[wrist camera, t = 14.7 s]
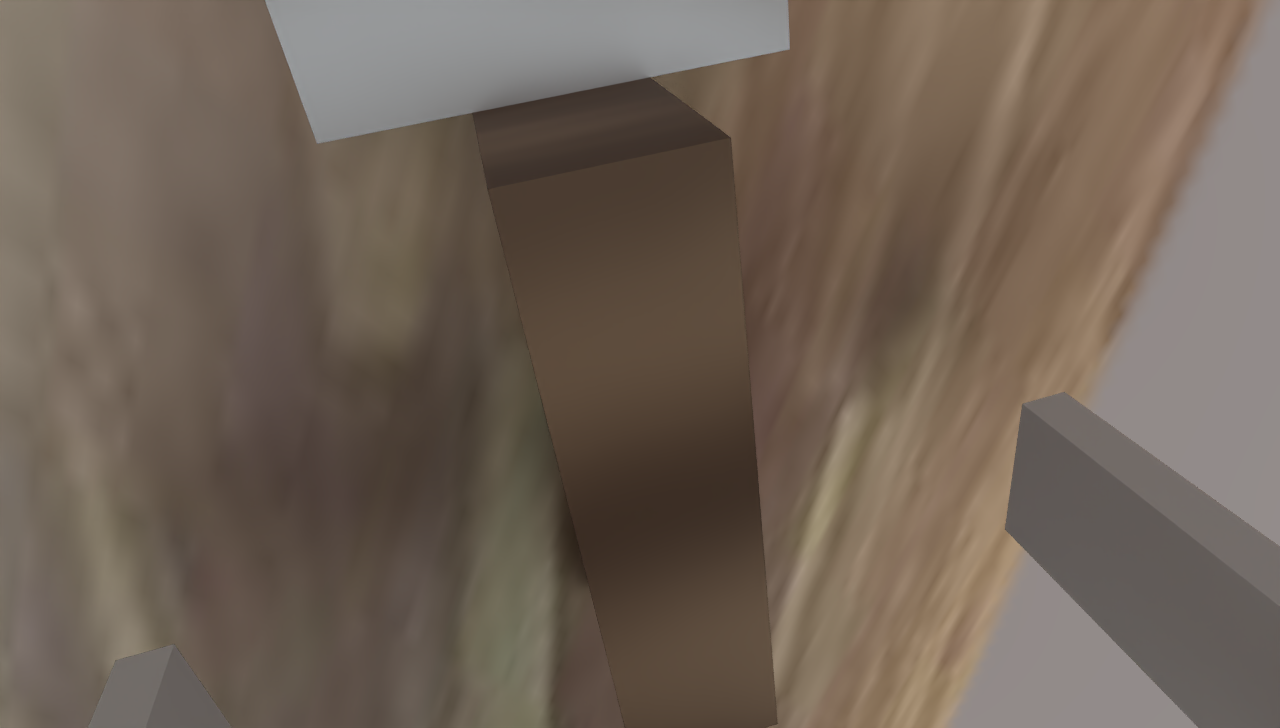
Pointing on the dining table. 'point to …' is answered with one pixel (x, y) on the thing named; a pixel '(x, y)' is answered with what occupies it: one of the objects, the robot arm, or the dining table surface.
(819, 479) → the dining table surface
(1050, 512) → the robot arm
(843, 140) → the dining table surface
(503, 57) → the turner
